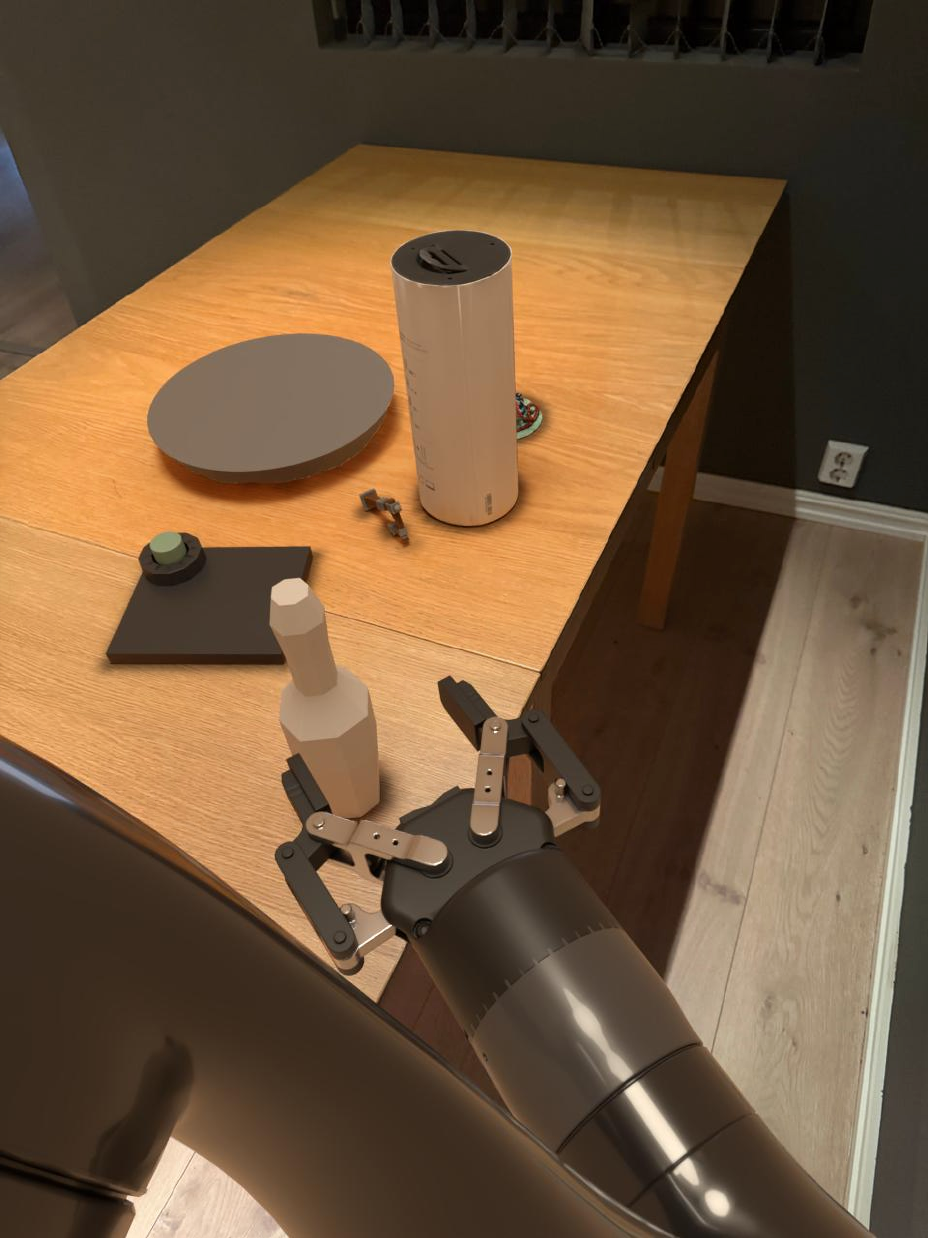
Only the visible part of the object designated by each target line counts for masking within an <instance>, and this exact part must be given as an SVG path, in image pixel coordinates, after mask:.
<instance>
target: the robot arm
mask: <svg viewBox="0 0 928 1238" xmlns="http://www.w3.org/2000/svg"><path fill="white" fill-rule="evenodd" d="M436 684H437V689H438V695H439V700H440V703H441V706H442V707H443V709H444V710H445V712H446V713H447V714H448V716H449V717H450V718H451V719H452V721H453V722H454V724H455V725H457V727H458V729H459V730H460V731H461V732H462V733H463V735H464V736H465V738H466V739H467V741H468V742H469V743H470V745H472V747H473V748H474V750H475V751H476V752H478V753H479V754H478V757H477V765H476V772H475V773H476V774H475V775H476V776H475V783H474V787H466V788H465V787H464V788H460V786H459V785H456V786H453V787H452V788H449V790H447V791H445V792H442V794H441V795H440V796H439V797H437V799H435V800H434V801H433V802H432V803H431V804H429V805H426V806H422V807H419V808H416V809H413V810H411V811H410V812H408V813H405V814H403V815H402V816H400V817H399V818H398V821H399V824H398V825H397V826H396V827H395V828H393V827H390V826H386V825H383V824H380V823H377V822H374V821H370V820H368V819H360V820H359V821H354V820H350V819H349V818H346V819H345V818H342V817H338V816H335V815H333V813H332V811H331V808H330V805H329V803H328V801H327V799H326V798H325V796H324V794H323V793H322V791H321V789H320V787H319V786H318V784H317V782H316V781H315V779H314V777H313V775H312V774H311V772H310V770H309V769H308V767H307V765H306V763H305V762H304V760H303V758H302V757H301V755H300V753H297V754H295V755H293V756H292V755H291V756H289V757H288V758H285V761H286V763H287V766H288V769H287V770H286V771H283V772H282V773H281V775H280V777H281V785H282V787H283V790H284V792H285V794H286V797H287V799H288V801H289V803H290V805H291V807H292V808H293V811H294V812H295V814H296V816H297V818H298V819H299V821H300V824H301V826H302V827H301V831H300V832H299V834H298V835H297V836H296V837H295V838H294V839H293V840H292V841H285V842H283V843H281V844H280V845H279V846H278V847H277V848H276V849H275V852H274V860H275V862H276V865H277V866H278V868H279V870H280V871H281V874H282V875H283V877H284V882H285V883H286V885H287V888H288V889H289V891H290V893H291V894H292V896H293V897H294V899H295V900H296V903H297V904H298V906H299V907H300V909H301V911H302V912H303V914H304V916H305V918H306V919H307V921H308V922H309V924H310V926H311V927H312V929H313V931H314V933H315V934H316V936H317V937H318V939H319V941H320V942H321V944H322V946H323V947H324V949H325V951H326V952H327V954H328V956H329V957H330V959H331V961H332V962H333V964H334V965H335V967H336V969H337V970H338V971H337V970H336V969H335V968H334V967H332V965H330V964H329V963H328V962H327V961H326V960H324V959H323V958H321V957H320V955H317V953H315V952H314V951H313V950H312V949H311V948H309V947H308V946H307V945H305V944H304V942H302V941H301V940H299V939H298V938H297V937H296V936H294V935H293V934H291V933H290V931H288V930H287V929H286V928H284V927H283V926H282V925H280V924H279V923H278V922H277V921H275V920H274V919H273V918H271V917H270V916H269V915H268V914H266V913H265V912H264V911H263V910H262V909H261V908H259V907H257V906H256V905H255V904H254V903H253V902H251V901H250V900H249V899H248V898H246V897H245V896H244V895H243V894H241V893H240V892H239V891H238V890H236V889H235V888H234V887H233V886H232V885H230V884H228V882H226V881H225V880H224V879H223V878H222V877H220V876H219V875H217V873H214V871H212V870H211V869H210V868H208V867H207V866H205V864H202V863H201V862H200V861H199V860H197V859H195V858H194V857H193V856H191V855H190V854H189V853H187V852H186V851H184V850H183V849H182V848H180V847H179V846H178V845H177V844H175V843H174V842H173V841H171V840H170V839H168V838H167V837H165V836H164V835H162V833H160V832H158V831H157V830H156V829H154V828H153V827H151V826H150V825H148V824H147V823H145V822H144V821H142V820H141V819H140V818H138V817H136V816H135V815H134V814H132V813H130V812H128V811H127V810H126V809H124V808H122V807H121V806H120V805H118V804H116V803H115V802H114V801H112V800H110V799H108V798H107V797H106V796H104V795H102V794H101V793H100V792H98V791H96V790H95V789H94V788H92V787H90V786H89V785H87V784H85V783H84V782H83V781H81V780H80V779H78V778H76V777H74V776H73V775H72V774H70V773H68V772H67V771H65V770H64V769H62V768H61V767H59V766H58V765H56V764H55V763H53V762H51V761H49V760H48V759H46V758H44V757H42V756H41V755H38V754H36V752H35V753H34V752H33V751H31V750H29V749H27V748H26V747H24V746H22V745H21V744H19V743H16V742H15V741H13V740H11V739H9V738H8V737H6V736H4V735H2V734H1V733H0V1238H126V1237H127V1235H128V1233H129V1231H130V1228H131V1226H132V1225H133V1222H134V1219H135V1218H136V1215H137V1211H136V1206H135V1203H134V1202H133V1201H131V1200H130V1199H129V1200H128V1199H127V1198H128V1196H129V1197H136V1198H140V1197H142V1196H145V1194H147V1192H148V1186H149V1184H150V1182H151V1180H152V1178H153V1176H154V1174H155V1172H156V1170H157V1168H158V1166H159V1164H160V1162H161V1160H162V1157H163V1155H164V1153H165V1151H166V1148H167V1146H168V1144H169V1140H170V1138H171V1139H173V1140H175V1141H176V1142H178V1143H180V1145H183V1146H184V1147H186V1148H187V1149H190V1150H191V1151H193V1152H194V1153H196V1154H197V1155H199V1156H200V1157H202V1158H203V1159H205V1160H206V1161H207V1162H209V1163H211V1164H212V1165H214V1166H215V1167H217V1168H218V1169H219V1170H221V1171H222V1172H223V1173H224V1174H225V1175H227V1176H228V1177H229V1178H230V1179H232V1180H233V1181H235V1182H236V1183H237V1184H238V1185H239V1186H240V1187H242V1189H243V1190H245V1191H246V1193H248V1194H249V1195H250V1196H251V1197H252V1198H253V1199H254V1201H256V1202H257V1203H258V1204H259V1205H260V1207H262V1209H263V1210H265V1211H266V1212H267V1213H268V1214H269V1215H270V1216H271V1217H272V1219H273V1220H274V1221H275V1222H276V1224H277V1225H278V1226H279V1227H280V1229H281V1230H282V1231H283V1232H284V1233H285V1235H286V1236H287V1238H878V1237H877V1236H876V1235H875V1234H874V1233H872V1231H870V1229H868V1228H867V1227H866V1226H865V1225H864V1224H863V1223H862V1222H861V1221H859V1220H858V1219H857V1218H856V1217H855V1216H854V1215H853V1214H852V1213H851V1212H849V1210H848V1209H847V1208H845V1207H844V1206H843V1205H842V1204H841V1203H840V1202H839V1201H837V1200H836V1198H834V1197H833V1196H832V1195H831V1193H830V1192H828V1191H827V1190H826V1188H824V1187H823V1186H822V1185H821V1184H820V1183H819V1182H818V1181H817V1180H816V1179H815V1178H814V1177H813V1176H812V1175H811V1174H810V1173H809V1172H808V1171H807V1170H806V1169H805V1168H804V1167H803V1165H801V1164H800V1162H798V1161H797V1159H796V1158H795V1157H794V1155H792V1153H790V1151H789V1150H788V1149H787V1148H786V1146H784V1144H783V1143H782V1142H781V1141H780V1140H779V1138H778V1137H776V1135H775V1134H774V1132H773V1131H772V1130H771V1129H770V1128H769V1126H768V1125H767V1124H766V1122H765V1121H764V1119H763V1118H762V1117H761V1116H760V1114H759V1113H756V1110H755V1108H754V1107H753V1105H752V1104H751V1103H750V1102H749V1100H748V1099H747V1097H746V1096H745V1095H744V1094H743V1093H742V1091H741V1090H740V1088H739V1087H738V1086H737V1085H736V1084H735V1082H734V1081H733V1079H732V1078H731V1077H730V1075H729V1074H728V1073H727V1072H726V1070H725V1069H724V1068H723V1067H722V1065H721V1064H720V1063H719V1061H718V1060H717V1058H716V1057H715V1056H714V1055H713V1053H712V1052H711V1051H710V1050H709V1049H708V1047H707V1046H705V1045H704V1042H703V1041H702V1039H701V1038H700V1036H699V1035H698V1034H697V1032H696V1031H695V1029H694V1028H693V1026H692V1024H691V1023H690V1021H689V1019H688V1018H687V1017H686V1015H685V1013H684V1011H683V1009H682V1008H681V1006H680V1003H678V1001H677V999H676V998H675V996H674V995H673V992H672V991H671V990H670V988H669V986H668V985H667V984H666V983H665V981H664V980H663V978H662V977H661V975H660V974H659V973H658V972H657V970H656V969H655V968H654V967H653V965H652V964H651V963H650V961H649V960H648V958H646V956H645V955H644V954H643V952H642V951H641V950H640V949H639V946H637V944H636V943H635V942H634V941H633V940H632V938H631V937H630V935H629V934H628V933H627V932H626V931H625V929H624V928H623V926H622V925H621V924H620V922H619V921H618V920H617V919H616V917H615V916H614V915H613V914H612V913H611V911H610V910H609V909H608V908H607V906H606V905H605V904H604V902H603V901H602V900H601V899H600V897H599V895H598V894H596V892H595V891H594V889H593V888H592V886H591V885H590V884H589V883H588V882H587V881H586V879H585V878H584V877H583V875H582V874H581V872H580V871H579V870H578V869H577V868H576V866H575V865H574V864H573V862H572V861H571V860H570V858H568V855H567V854H565V852H564V851H563V850H562V849H561V848H560V846H559V845H558V842H557V839H556V838H557V837H559V836H561V835H563V834H564V833H567V832H568V831H571V830H572V829H575V828H576V827H577V828H579V829H580V830H583V831H591V830H594V829H596V828H597V827H598V826H599V824H600V821H601V820H600V819H601V802H602V788H601V786H600V784H599V783H598V782H597V780H596V779H595V778H594V776H593V775H592V774H591V773H590V771H589V770H588V769H587V767H586V766H585V765H584V763H583V762H582V760H581V759H580V758H579V757H578V756H577V754H576V753H575V752H574V751H573V749H572V748H571V746H570V745H569V744H568V742H567V741H566V740H565V739H564V737H563V736H562V734H560V732H559V731H558V729H557V728H556V727H555V726H554V724H553V723H552V721H551V720H550V719H549V717H548V716H547V715H546V714H545V712H544V711H542V710H541V709H539V708H529V709H527V710H525V711H524V712H523V713H522V715H521V717H517V718H516V717H515V718H512V719H505V718H503V717H500V716H498V715H497V714H496V713H495V712H494V710H493V708H491V707H490V705H489V704H488V703H487V702H486V700H485V699H484V698H483V697H482V696H481V694H480V692H478V691H477V690H476V688H475V687H474V685H473V684H471V683H469V682H468V681H466V680H464V679H461V680H460V681H458V682H457V681H456V680H455V679H454V678H453V676H452V675H450V674H449V675H448V676H446V677H444V678H441V679H440V680H438V681H437V683H436ZM522 755H525V756H526V757H527V758H528V759H529V761H530V763H531V764H532V765H533V767H534V768H535V769H536V771H537V772H538V774H539V775H540V777H541V778H542V779H543V781H544V782H545V784H546V785H547V786H548V788H547V804H548V807H549V808H548V809H547V810H546V811H544V810H543V809H541V808H539V807H537V806H534V805H532V804H528V803H525V802H523V801H518V800H516V799H512V798H509V797H508V794H509V793H508V792H509V791H508V790H509V789H508V787H509V785H508V784H509V773H510V772H509V771H510V762H511V761H510V758H512V757H518V756H522ZM326 863H329V864H331V865H335V866H337V867H340V868H343V869H346V870H348V871H352V872H354V873H355V874H357V876H359V877H360V878H361V879H363V880H366V881H368V882H371V883H374V884H376V885H380V886H382V889H381V894H380V901H379V902H380V903H379V904H380V910H376V911H373V912H367V911H365V910H363V909H362V908H361V906H359V905H358V904H356V903H353V902H352V903H350V902H349V903H343V904H342V905H341V906H339V905H338V903H337V902H336V900H335V899H334V897H333V895H332V894H331V893H330V891H329V890H328V888H327V886H326V885H325V883H324V882H323V880H322V879H321V878H322V877H320V875H319V873H318V871H319V870H320V869H321V868H322V867H323V866H324V865H325V864H326ZM393 937H397V938H399V939H401V940H403V941H404V942H406V943H407V944H408V945H409V946H410V947H412V949H413V950H414V951H415V953H416V954H417V956H418V957H419V960H420V961H421V963H422V964H423V966H424V968H425V970H426V972H427V973H428V974H429V977H430V978H431V980H432V981H433V983H434V985H435V987H436V988H437V990H438V991H439V993H440V995H441V997H442V999H443V1000H444V1002H445V1003H446V1005H447V1007H448V1009H449V1010H450V1012H451V1014H452V1015H453V1018H454V1019H455V1021H456V1023H457V1024H458V1026H459V1027H460V1029H461V1031H462V1033H463V1035H464V1036H465V1038H466V1040H467V1041H468V1043H469V1044H470V1046H471V1047H472V1050H473V1051H474V1052H475V1054H476V1056H477V1058H478V1060H479V1063H480V1065H479V1066H480V1068H481V1070H482V1072H483V1074H484V1076H485V1078H486V1079H487V1081H488V1082H489V1084H490V1085H491V1086H492V1087H493V1088H494V1089H496V1090H497V1092H498V1094H499V1096H500V1097H501V1099H502V1101H503V1102H504V1104H505V1105H506V1107H507V1109H508V1110H509V1111H508V1110H507V1109H506V1108H504V1107H503V1106H502V1105H501V1104H500V1103H498V1102H497V1101H496V1100H495V1099H494V1098H493V1097H492V1096H491V1095H489V1094H488V1093H487V1092H486V1091H485V1090H484V1089H482V1087H481V1086H479V1085H478V1084H477V1083H476V1082H475V1081H474V1080H472V1079H471V1078H470V1077H469V1076H468V1075H466V1074H465V1073H464V1072H463V1071H461V1070H460V1069H459V1068H457V1067H456V1065H454V1064H453V1063H452V1062H450V1061H449V1060H448V1059H447V1058H445V1057H444V1056H443V1055H442V1054H441V1053H440V1052H438V1051H437V1050H436V1049H435V1048H433V1047H432V1046H431V1045H430V1044H428V1043H427V1041H425V1040H424V1039H422V1038H421V1037H420V1036H419V1035H418V1034H417V1033H415V1032H413V1031H412V1030H411V1029H410V1028H409V1027H407V1026H406V1025H404V1024H403V1023H402V1022H401V1021H399V1019H397V1018H395V1017H394V1016H393V1015H392V1014H390V1012H388V1011H387V1010H386V1009H384V1008H383V1007H382V1006H381V1005H380V1004H378V1003H377V1002H375V1000H374V999H372V998H371V997H370V996H369V995H367V994H366V993H364V992H363V991H362V990H361V989H360V988H358V987H357V985H355V984H353V982H351V981H350V980H349V979H348V978H346V977H352V976H355V975H357V974H359V972H361V970H362V969H363V968H364V965H365V957H366V955H368V954H370V953H371V952H373V951H374V950H375V949H377V948H378V947H380V946H381V945H382V944H384V943H385V942H387V941H388V940H390V939H391V938H393ZM345 976H346V977H345Z"/></svg>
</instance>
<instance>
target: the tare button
mask: <svg viewBox="0 0 928 1238" xmlns="http://www.w3.org/2000/svg"><path fill="white" fill-rule="evenodd" d="M149 543H150V549H151V551H152V553H153V555H154V558H155V560H156V562H157V563H158V564H160V565H171V564H174V563H177V562H179V561H181V560H182V559H183V558H184V557H185V556H186V553H187V550H186V548H185V545H184V543H183V540H182V538H181V536H180V534H178V532H176V531H170V530H169V531H163V532H160V533H158V534H157V535H155V536H154V537H153V538H152V539H151V540H150V541H149Z"/></svg>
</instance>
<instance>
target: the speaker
mask: <svg viewBox="0 0 928 1238" xmlns="http://www.w3.org/2000/svg"><path fill="white" fill-rule="evenodd" d="M389 264H390V270H391V271H390V272H391V277H392V285H393V294H394V301H395V309H396V316H397V325H398V333H399V341H400V342H399V343H400V350H401V356H402V364H403V372H404V381H405V387H406V388H405V389H406V396H407V397H406V398H407V405H408V413H409V421H410V428H411V436H412V444H413V453H414V460H415V470H416V477H417V486H418V493H419V500H420V505H421V506H422V507H423V509H424V510H425V511H426V512H427V513H428V514H429V515H430V516H431V517H433V519H434V518H435V519H437V520H438V521H440V522H441V523H444V524H447V525H452V526H457V527H476V526H482V525H486V524H488V523H492V522H494V521H496V520H499V519H501V518H502V517H504V516H505V515H507V514H508V513H509V512H510V511H511V510H512V509H513V507H514V506H515V504H516V503H517V500H518V497H519V465H518V464H519V462H518V460H519V459H518V439H517V422H516V393H517V391H516V390H517V389H516V388H517V387H516V386H517V385H516V360H515V359H516V356H515V355H516V353H515V325H514V319H515V318H514V289H513V288H514V286H513V285H514V284H513V283H514V282H513V251H512V247H511V246H510V245H509V244H508V243H507V242H506V241H505V240H504V239H502V238H501V237H499V236H497V235H494V234H491V233H489V232H485V231H479V230H471V229H470V230H469V229H450V230H449V229H447V230H440V231H434V232H430V233H425V234H423V235H419V236H417V237H414V238H412V239H409V240H407V241H406V242H404V243H402V244H401V245H399V247H397V248H396V249H395V250H394V252H393V253H392V255H391V258H390V263H389Z"/></svg>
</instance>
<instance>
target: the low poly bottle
mask: <svg viewBox="0 0 928 1238" xmlns="http://www.w3.org/2000/svg"><path fill="white" fill-rule="evenodd" d="M270 627H271V629H272V631H273V633H274V635H275V637H276V639H277V641H278V643H279V645H280V647H281V649H282V651H283V653H284V655H285V657H286V659H285V661H286V663H287V666H288V669H289V673H290V675H291V679H290V681H289V682H288V683H287V684H286V685H285V686H284V687H283V688H282V690H281V692H280V702H279V712H278V713H279V716H278V721H279V722H278V723H279V724H280V727H281V730H282V732H283V735H284V737H285V741H286V743H287V745H288V749H289V751H290V754H291V756H293V755H295V754H297V753H300V755H301V757H302V758H303V760H304V762H305V763H306V765H307V767H308V769H309V770H310V772H311V774H312V775H313V777H314V779H315V781H316V782H317V784H318V786H319V787H320V789H321V791H322V793H323V794H324V796H325V798H326V799H327V801H328V803H329V805H330V808H331V811H332V813H333V815H335V816H338V817H342V818H345V819H354V818H362V817H363V816H364V815H365V814H367V813H368V812H369V811H370V810H372V809H373V808H374V807H376V806H377V805H378V804H379V803H380V802H381V799H380V798H381V797H380V796H381V794H380V793H381V791H380V790H381V787H380V786H381V785H380V782H381V781H380V765H379V764H380V763H379V745H378V743H379V742H378V726H377V725H378V724H377V720H376V715H375V711H374V706H373V702H372V698H371V694H370V690H369V686H368V685H366V684H365V683H364V682H363V681H362V680H361V679H360V678H358V676H357V675H355V674H354V673H353V672H352V671H351V670H350V669H348V668H347V667H345V666H342V665H337V664H336V661H335V659H334V655H333V652H332V651H333V650H332V647H331V643H330V641H329V631H328V625H327V617H326V611H325V605H324V604H323V603H322V601H321V600H320V598H319V597H318V595H317V594H316V593H315V592H314V590H313V589H312V588H311V587H310V586H309V584H307V582H306V583H305V582H304V581H303V580H302V579H300V578H294V579H285V580H283V581H281V582H280V583H278V584H277V585H275V586H273V587H272V592H271V606H270Z"/></svg>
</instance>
